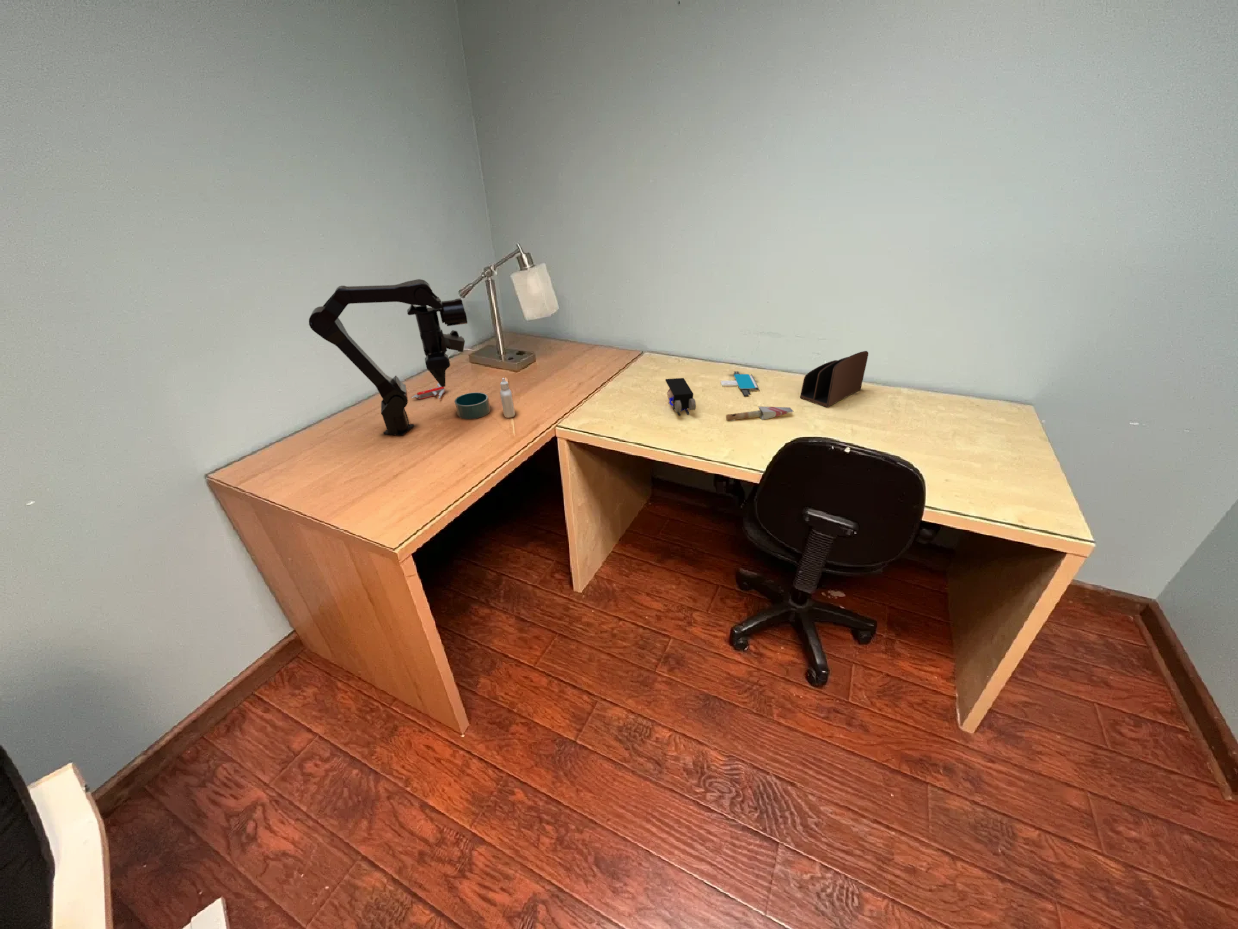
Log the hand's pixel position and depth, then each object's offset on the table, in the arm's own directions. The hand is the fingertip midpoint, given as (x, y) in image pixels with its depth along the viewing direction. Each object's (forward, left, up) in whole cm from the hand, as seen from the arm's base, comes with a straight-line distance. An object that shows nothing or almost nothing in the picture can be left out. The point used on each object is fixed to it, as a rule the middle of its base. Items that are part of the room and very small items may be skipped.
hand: (442, 380), depth 145 cm
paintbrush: (+16, -92, -13) cm, 95 cm away
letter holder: (+36, -115, -13) cm, 121 cm away
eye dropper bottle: (+7, -16, -13) cm, 22 cm away
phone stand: (+40, -86, -13) cm, 96 cm away
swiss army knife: (+16, +17, -13) cm, 26 cm away
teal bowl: (+7, -4, -13) cm, 15 cm away
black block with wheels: (+19, -68, -13) cm, 72 cm away
